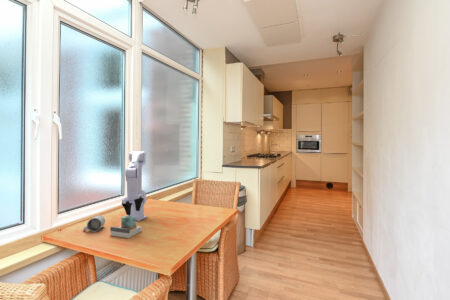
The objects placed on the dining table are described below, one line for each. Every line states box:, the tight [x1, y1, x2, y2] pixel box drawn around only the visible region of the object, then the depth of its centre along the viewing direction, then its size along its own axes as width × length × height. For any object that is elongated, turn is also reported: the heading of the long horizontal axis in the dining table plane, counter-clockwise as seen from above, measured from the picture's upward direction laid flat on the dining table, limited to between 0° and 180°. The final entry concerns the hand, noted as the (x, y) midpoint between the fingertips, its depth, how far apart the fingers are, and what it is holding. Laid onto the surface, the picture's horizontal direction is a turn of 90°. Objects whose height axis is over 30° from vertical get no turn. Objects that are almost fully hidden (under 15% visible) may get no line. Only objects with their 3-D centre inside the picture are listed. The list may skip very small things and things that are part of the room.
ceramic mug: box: [83, 214, 106, 233], centre depth 133 cm, size 11×8×8 cm
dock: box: [109, 225, 142, 239], centre depth 127 cm, size 12×10×4 cm
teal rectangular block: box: [120, 215, 137, 230], centre depth 128 cm, size 7×4×6 cm, turn 71°
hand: (133, 212), depth 132 cm, fingers open, 7 cm apart
